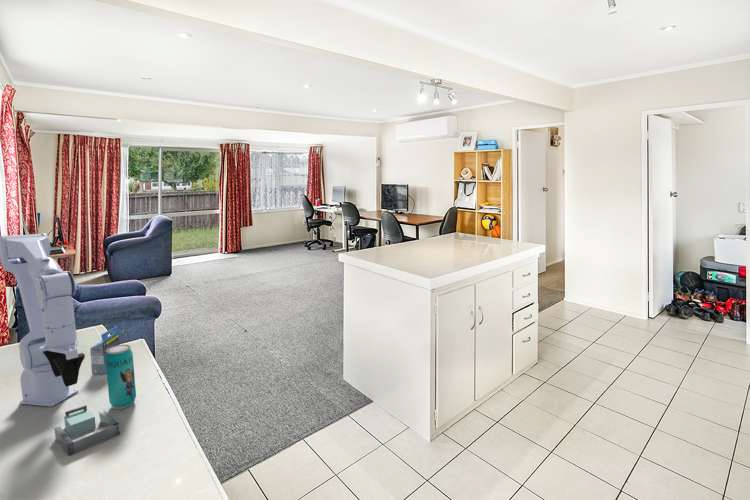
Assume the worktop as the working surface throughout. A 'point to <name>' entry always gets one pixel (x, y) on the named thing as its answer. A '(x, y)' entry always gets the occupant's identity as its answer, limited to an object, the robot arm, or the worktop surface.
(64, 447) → the bay
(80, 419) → the mint cube with handle
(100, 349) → the label tape box
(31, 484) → the worktop surface
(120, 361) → the beverage can
